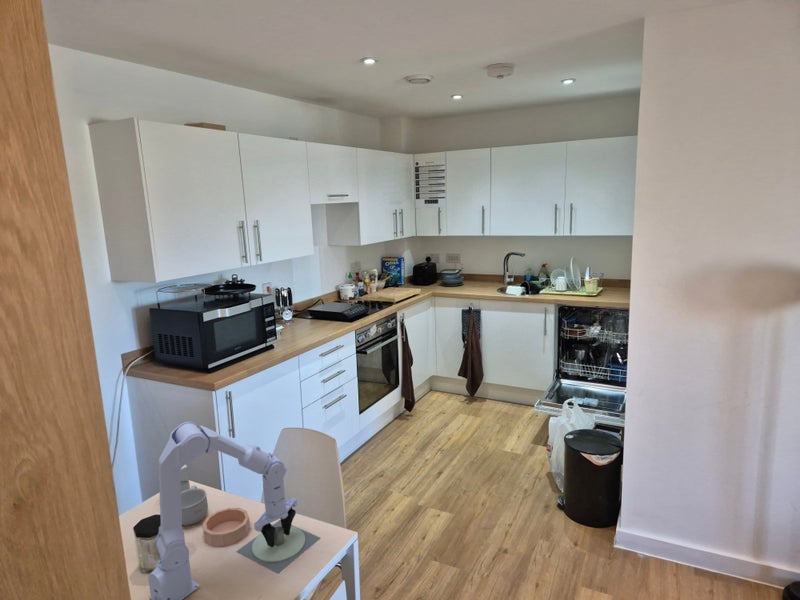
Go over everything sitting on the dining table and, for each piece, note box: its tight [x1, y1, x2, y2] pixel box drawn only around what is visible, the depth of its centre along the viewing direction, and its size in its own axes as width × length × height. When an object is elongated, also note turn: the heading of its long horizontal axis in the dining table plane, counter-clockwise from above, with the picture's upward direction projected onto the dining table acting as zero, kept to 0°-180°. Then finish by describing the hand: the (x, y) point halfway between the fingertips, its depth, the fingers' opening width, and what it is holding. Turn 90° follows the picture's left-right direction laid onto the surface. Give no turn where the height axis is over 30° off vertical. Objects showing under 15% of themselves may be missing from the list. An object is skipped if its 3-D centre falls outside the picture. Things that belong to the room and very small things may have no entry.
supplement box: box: [158, 464, 191, 492], centre depth 173 cm, size 7×7×13 cm
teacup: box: [181, 485, 209, 527], centre depth 164 cm, size 14×11×8 cm
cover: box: [252, 526, 305, 563], centre depth 148 cm, size 15×15×5 cm
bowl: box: [202, 507, 251, 548], centre depth 155 cm, size 13×13×4 cm
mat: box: [235, 519, 321, 574], centre depth 149 cm, size 17×17×1 cm
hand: (278, 539), depth 149 cm, fingers open, 5 cm apart
